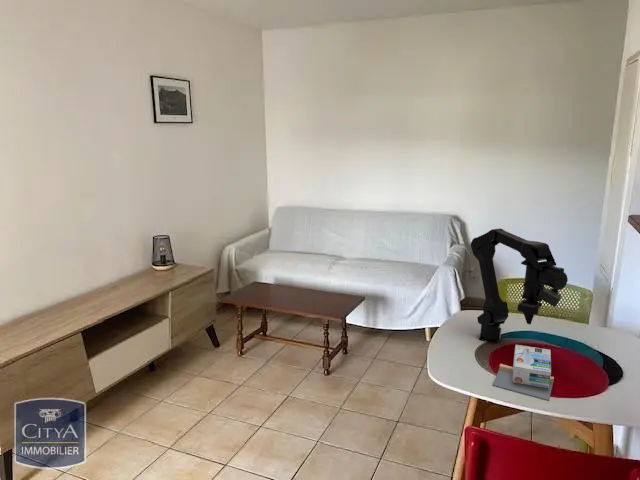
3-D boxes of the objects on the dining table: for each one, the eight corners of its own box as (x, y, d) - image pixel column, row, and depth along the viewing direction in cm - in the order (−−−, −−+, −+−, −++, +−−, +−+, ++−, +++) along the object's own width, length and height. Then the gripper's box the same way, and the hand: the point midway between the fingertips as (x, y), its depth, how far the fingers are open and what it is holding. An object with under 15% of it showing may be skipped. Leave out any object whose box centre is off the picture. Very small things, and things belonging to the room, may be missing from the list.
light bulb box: (550, 349, 149) (551, 372, 140) (549, 365, 152) (549, 389, 143) (514, 344, 153) (513, 366, 145) (513, 360, 156) (511, 382, 148)
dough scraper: (492, 385, 146) (492, 380, 146) (499, 369, 156) (500, 363, 156) (548, 400, 138) (549, 395, 138) (553, 382, 148) (553, 376, 148)
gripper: (558, 293, 145) (552, 339, 148) (563, 276, 160) (557, 319, 164) (519, 286, 150) (514, 331, 154) (528, 271, 166) (523, 313, 170)
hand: (529, 323), depth 160 cm, fingers closed
